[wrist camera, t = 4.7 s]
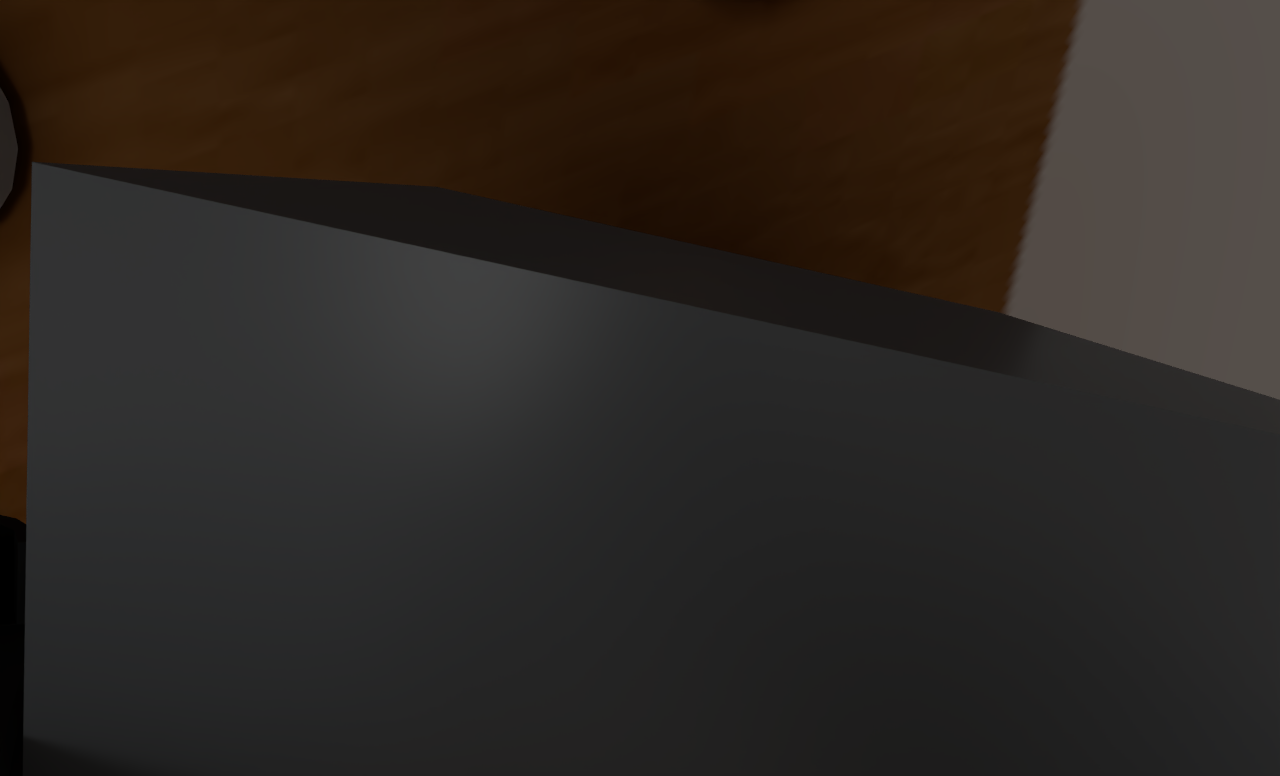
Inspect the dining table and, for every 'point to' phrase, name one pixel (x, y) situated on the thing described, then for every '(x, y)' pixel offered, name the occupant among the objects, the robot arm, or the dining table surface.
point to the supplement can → (6, 149)
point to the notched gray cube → (605, 508)
